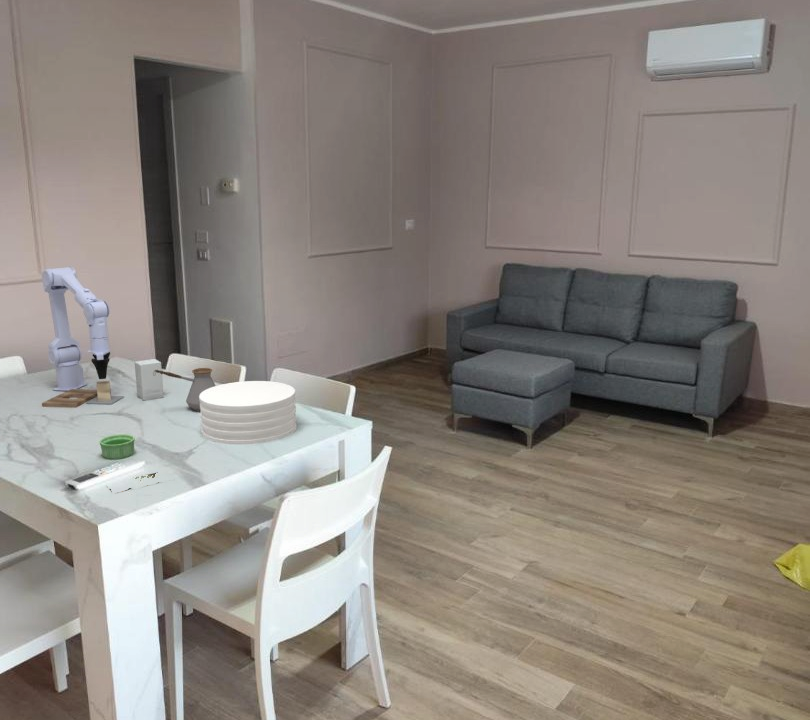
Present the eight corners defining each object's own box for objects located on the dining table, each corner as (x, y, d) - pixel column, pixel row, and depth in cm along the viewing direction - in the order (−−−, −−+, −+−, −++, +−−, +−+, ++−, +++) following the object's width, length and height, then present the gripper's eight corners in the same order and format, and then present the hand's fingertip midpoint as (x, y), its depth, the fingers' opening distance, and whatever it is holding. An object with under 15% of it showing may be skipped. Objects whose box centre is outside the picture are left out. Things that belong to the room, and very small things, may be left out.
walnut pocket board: (71, 392, 264) (71, 388, 264) (103, 393, 263) (103, 389, 263) (42, 406, 247) (41, 403, 247) (76, 407, 245) (75, 404, 245)
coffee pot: (216, 401, 252) (213, 358, 249) (227, 409, 243) (224, 364, 240) (152, 411, 241) (148, 366, 238) (161, 420, 232) (157, 373, 228)
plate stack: (181, 438, 215) (179, 400, 213) (236, 411, 241) (234, 377, 238) (264, 449, 205) (262, 410, 203) (312, 421, 231) (311, 385, 228)
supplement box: (164, 397, 257) (161, 362, 254) (142, 401, 253) (139, 365, 250) (158, 392, 263) (155, 358, 260) (137, 396, 259) (133, 361, 256)
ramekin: (135, 458, 199) (133, 443, 198) (99, 462, 196) (97, 446, 195) (136, 447, 207) (135, 432, 206) (102, 450, 205) (101, 435, 204)
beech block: (98, 398, 255) (96, 381, 253) (110, 397, 256) (109, 380, 255) (98, 401, 251) (96, 384, 250) (110, 400, 252) (109, 383, 251)
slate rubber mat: (99, 396, 258) (99, 395, 258) (124, 397, 257) (124, 396, 257) (86, 403, 250) (85, 402, 250) (111, 404, 249) (111, 403, 249)
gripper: (87, 333, 254) (91, 372, 257) (85, 341, 241) (89, 382, 244) (109, 332, 256) (112, 370, 259) (108, 340, 243) (112, 380, 246)
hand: (102, 376), depth 252 cm, fingers open, 7 cm apart
